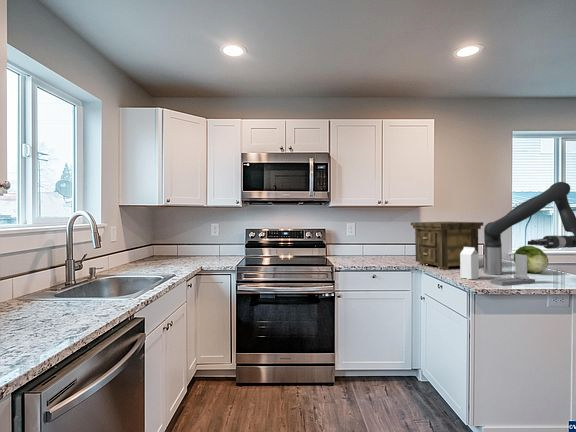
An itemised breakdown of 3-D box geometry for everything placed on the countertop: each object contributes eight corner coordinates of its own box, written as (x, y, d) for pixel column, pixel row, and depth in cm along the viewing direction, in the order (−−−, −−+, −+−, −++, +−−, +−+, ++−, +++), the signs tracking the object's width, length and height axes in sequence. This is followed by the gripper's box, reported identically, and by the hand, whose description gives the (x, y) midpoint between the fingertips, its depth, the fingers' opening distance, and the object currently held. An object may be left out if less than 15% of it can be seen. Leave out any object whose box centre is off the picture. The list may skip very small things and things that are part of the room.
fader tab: (523, 279, 188) (522, 255, 188) (513, 277, 194) (513, 254, 194) (529, 278, 189) (528, 255, 189) (519, 276, 195) (519, 254, 195)
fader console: (502, 285, 184) (502, 281, 184) (490, 282, 192) (490, 279, 192) (535, 283, 189) (535, 279, 189) (522, 280, 197) (522, 276, 197)
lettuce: (524, 275, 213) (532, 249, 210) (506, 264, 236) (513, 240, 233) (553, 281, 211) (562, 255, 208) (532, 269, 234) (540, 245, 231)
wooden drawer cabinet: (483, 268, 242) (483, 222, 242) (441, 271, 233) (440, 223, 233) (449, 261, 276) (448, 221, 276) (411, 264, 267) (410, 222, 267)
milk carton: (471, 280, 200) (470, 247, 200) (460, 278, 206) (459, 247, 206) (478, 279, 203) (478, 247, 203) (467, 277, 210) (467, 246, 210)
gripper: (542, 234, 203) (518, 235, 200) (565, 236, 190) (540, 237, 186) (542, 247, 203) (518, 248, 200) (565, 249, 190) (540, 250, 187)
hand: (529, 243), depth 193 cm, fingers closed
